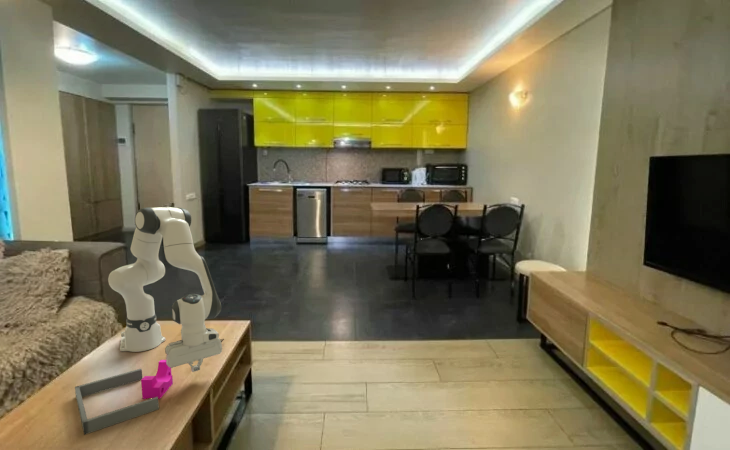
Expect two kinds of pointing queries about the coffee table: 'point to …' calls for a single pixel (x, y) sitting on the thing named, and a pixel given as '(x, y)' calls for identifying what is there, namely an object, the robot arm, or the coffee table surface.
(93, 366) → the coffee table surface
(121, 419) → the box
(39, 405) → the coffee table surface
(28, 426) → the coffee table surface
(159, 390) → the magenta curved bracket
